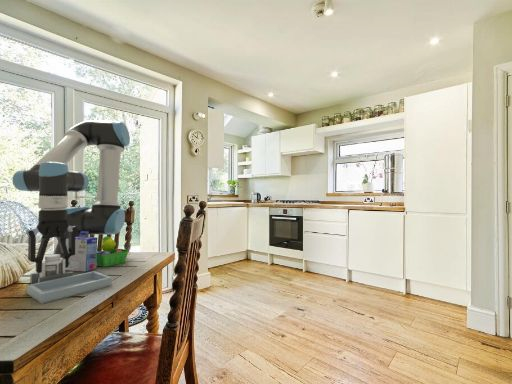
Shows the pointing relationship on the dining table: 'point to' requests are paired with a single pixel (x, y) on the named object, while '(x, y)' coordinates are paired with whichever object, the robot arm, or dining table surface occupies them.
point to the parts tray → (68, 286)
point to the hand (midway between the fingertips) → (52, 279)
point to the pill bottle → (53, 264)
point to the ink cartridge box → (83, 253)
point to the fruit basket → (110, 253)
